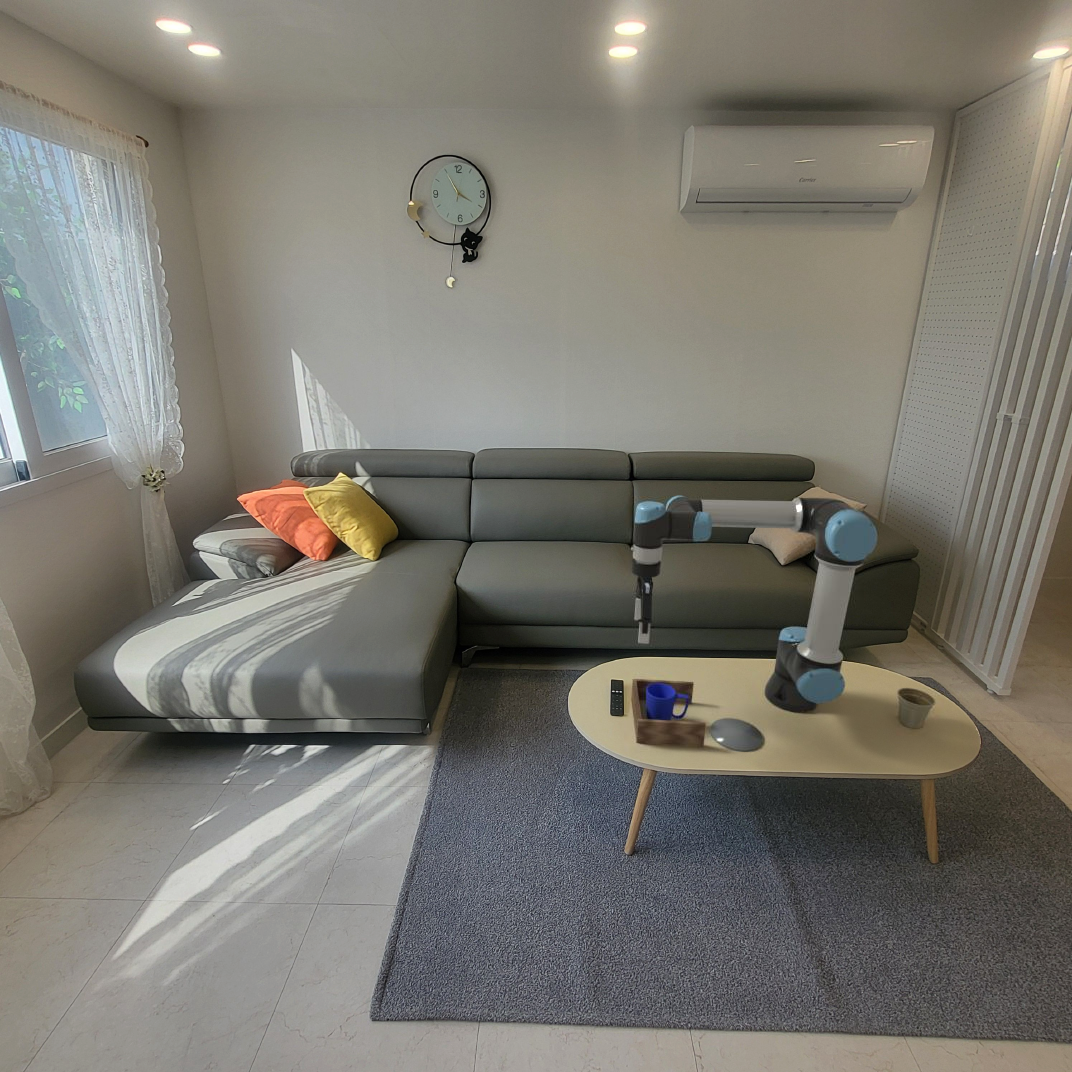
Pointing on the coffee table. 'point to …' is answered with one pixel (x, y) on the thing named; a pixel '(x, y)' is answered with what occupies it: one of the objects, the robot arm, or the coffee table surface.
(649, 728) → the u-shaped wooden frame
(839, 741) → the coffee table surface
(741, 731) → the grey round disc
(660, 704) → the mug
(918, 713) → the flower pot
